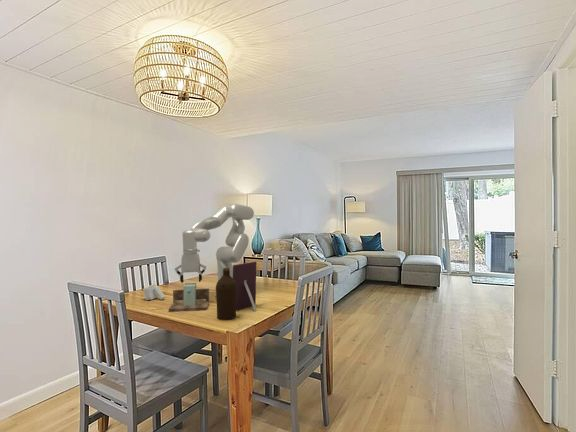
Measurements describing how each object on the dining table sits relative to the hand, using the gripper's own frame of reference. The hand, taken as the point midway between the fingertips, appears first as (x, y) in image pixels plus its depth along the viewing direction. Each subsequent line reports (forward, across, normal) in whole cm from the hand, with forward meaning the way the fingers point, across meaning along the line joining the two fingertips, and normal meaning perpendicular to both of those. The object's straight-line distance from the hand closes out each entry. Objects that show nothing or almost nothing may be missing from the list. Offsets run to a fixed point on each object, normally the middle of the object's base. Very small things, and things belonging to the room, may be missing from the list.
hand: (191, 281), depth 183 cm
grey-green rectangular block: (+12, +1, +1) cm, 12 cm away
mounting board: (+14, +1, +2) cm, 14 cm away
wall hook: (+14, +24, -18) cm, 33 cm away
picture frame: (+14, -32, +12) cm, 37 cm away
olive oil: (+14, -20, +24) cm, 34 cm away
